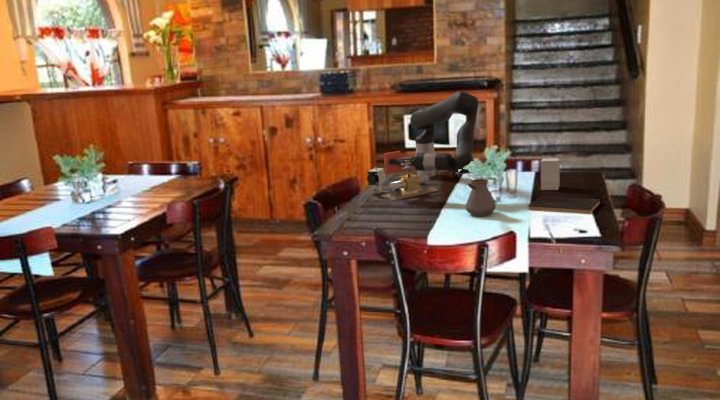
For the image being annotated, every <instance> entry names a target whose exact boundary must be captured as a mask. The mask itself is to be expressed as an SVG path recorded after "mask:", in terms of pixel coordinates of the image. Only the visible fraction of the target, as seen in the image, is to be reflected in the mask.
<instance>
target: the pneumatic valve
mask: <svg viewBox="0 0 720 400" xmlns="http://www.w3.org/2000/svg"><path fill="white" fill-rule="evenodd" d="M366 173H367V176H366V181H367V184H368V186H372V193H374V194H378V195H379V193H380V194H382V193H383V188H382V187H383V185H382V183H385V182H386V180H387V174H385V167H376V166H375V167H374V168H372V169H369V170H367V172H366Z"/></svg>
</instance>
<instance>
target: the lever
mask: <svg viewBox="0 0 720 400" xmlns="http://www.w3.org/2000/svg"><path fill="white" fill-rule="evenodd" d="M399 158H402V152H401V150H397V151H392V152H385V153H383V162H384V163H383V165H384V168H385V174H386V175H390V174H395V173H399V172H406V171H411V172H412V171H413V170H414V168H413V167H414V166H412V167H407V166H405V167H400V166H397V165H394V164H389V160H390V159H399Z"/></svg>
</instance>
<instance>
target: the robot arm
mask: <svg viewBox="0 0 720 400" xmlns="http://www.w3.org/2000/svg"><path fill="white" fill-rule="evenodd" d="M478 109H479V100H478V97H476V96H474V95H473V94H470V93H468V92H465V91H462V90H460V91H456V92H454V93H452V94H451V95H450V96H449V97H446V98H445V99H443V100H441V101H439V102H436V103H434V104H432V105H430V106H427V107H426V108H425V109H422V110H418V111H414V112H413V113H412V114H411V116H410V119H409V123H410V126H411V127H412V128H413V129H414V130H415V131H416V130H418V131H420V130H423V132H421V134H420V135H417V136H416V137H415V138H414V139H415V140H414V141H415V155H414V156H404V157H403V156H401V158H399V159H390V160H389V164H394V165H397V166H400V167H402V168H404V167H405V166H407V167H412V166H413V167H414V169H415V170H416V173H417V175H418V176H419V177H421V176H428V177H429V178H433V177H436V171H449V172H452V173H456V174H463V175H464V174H466V175H467V174H471V172H469V171H468V170H465V169H463V167H464V166H466V165H468V164H469V163H470V162H471V161H474V162H475V159H474V158H473V155H472V153H473V152H472V151H473V150H474V141H475V140H474V135H475V133H474V132H475V126H476V121H477V117H478V116H477V114H478ZM454 112H456V113H458V114H460V115H462V116H465V118H466V121H465V122H464V123H463V124H462V126H461V127H460V128H458V131H457V133H456V147H455V151H454V157H453V155H451V154H450V153H447V152H446V153H445V152H444V153H440V152H439V153H437V152H435V140H434V139H435V124H436V125H437V124H440V123H443V122H444V123H445V122H446V121H448V120H450V119H451V118H452V116H453V114H454ZM458 169H462V170H461V171H460V172H458Z"/></svg>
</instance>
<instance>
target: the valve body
mask: <svg viewBox="0 0 720 400" xmlns="http://www.w3.org/2000/svg"><path fill="white" fill-rule="evenodd" d="M405 172H406V174H404V175H399V176H398V181H393V182H389V183H388V189H389V193H387V194H386V193H385V194H382V195H381V198H383V197H384V199H387V198H388V200H391V201H397V200H398V201H399V200H401V199H408V198H411V197H416V196H420V195H425V194H429V193H435V192H439V191H438V190H439V189H438V188H435V187H430V186H429V183H430V177H428V176H421V177H419V176H418V175H416V174H411V172H412V171H405Z"/></svg>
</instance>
